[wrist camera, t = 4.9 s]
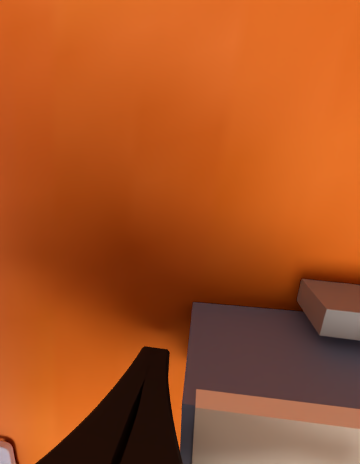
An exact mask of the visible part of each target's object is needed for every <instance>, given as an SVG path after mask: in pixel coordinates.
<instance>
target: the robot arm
mask: <svg viewBox="0 0 360 464" xmlns="http://www.w3.org/2000/svg"><path fill="white" fill-rule="evenodd" d="M169 353H170V352H169V351H168V350H167V349H160V348H152V347H143V348H142V349H141V351H140V353H139V354H138V356H137V357H136V359H135V360H134V361H133V363H132V364H131V366H130V367H129V368H128V370H127V371H126V372H125V374H124V375H123V376H122V377H121V379H120V380H119V381H118V383H117V384H116V385H115V386H114V387H113V389H112V390H111V391H110V392H109V393H108V394H107V396H106V397H105V398H104V399H103V400H102V401H101V402H100V404H99V405H98V406H97V407H96V408H95V409H94V410H93V411H92V412H91V413H90V414H89V415H88V416H87V417H86V418H85V419H84V420H83V421H82V422H81V423H80V424H79V425H78V426H77V427H76V428H75V429H74V430H73V431H72V432H71V433H70V434H69V435H68V436H67V437H66V438H65V439H63V440H62V441H61V442H60V443H59V444H58V445H57V446H56V447H55V448H54V449H52V450H51V451H50V452H49V453H48V454H47V455H45V456H44V457H43V458H42V459H41V460H39V461H38V462H37V463H36V464H183V462H182V458H181V454H180V450H179V445H178V441H177V436H176V432H175V426H174V421H173V415H172V409H171V402H170V394H169V384H168V370H169ZM0 464H16V462H15V457H14V452H13V447H12V445H11V444H10V443H8V442H4V441H0Z"/></svg>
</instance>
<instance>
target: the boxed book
mask: <svg viewBox="0 0 360 464" xmlns="http://www.w3.org/2000/svg"><path fill="white" fill-rule="evenodd" d="M180 454H181V458H182V462H183V464H360V340H352V339H344V338H336V337H328V336H320V335H319V334H318V332H317V331H316V329H315V328H314V326H313V325H312V323H311V322H310V320H309V319H308V317H307V316H306V314H305V313H304V312H302V311H291V310H279V309H268V308H256V307H245V306H234V305H222V304H211V303H199V302H193V305H192V315H191V324H190V334H189V343H188V353H187V362H186V372H185V381H184V391H183V400H182V419H181V444H180Z"/></svg>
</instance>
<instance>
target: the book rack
mask: <svg viewBox="0 0 360 464" xmlns="http://www.w3.org/2000/svg"><path fill="white" fill-rule="evenodd" d="M297 302H298V304H299V305H300V307H301V308H302V310H303V311H304V313H305V314H306V316H307V317H308V319H309V320H310V322H311V323H312V325H313V326H314V328H315V329H316V331H317V332H318V334H319V335H320V336H328V337H336V338H344V339H352V340H360V285H357V284H348V283H338V282H329V281H319V280H310V279H301V283H300V288H299V292H298V296H297Z"/></svg>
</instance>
